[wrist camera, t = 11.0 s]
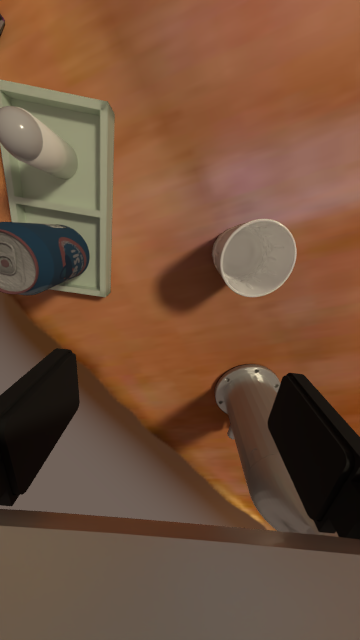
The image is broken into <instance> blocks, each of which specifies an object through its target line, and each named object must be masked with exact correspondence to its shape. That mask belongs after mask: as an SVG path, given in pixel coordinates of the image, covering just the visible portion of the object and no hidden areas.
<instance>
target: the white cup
mask: <svg viewBox="0 0 360 640" xmlns="http://www.w3.org/2000/svg"><path fill="white" fill-rule="evenodd" d="M212 258H213V261H214V265H215V267H216V269H217V271H218V272H219V274H220V276H221V277H222V278H223V280H224V281H225V283H226V284H227V286H228V287H229V288H230V289H231V290H233V291H234V292H236V293H237V294H239V295H242V296H246V297H259V296H264V295H267V294H269V293H271V292H273V291H275V290H276V289H277V288H279V287H280V286H281V285H282V284H283V283H284V282H285V281H286V280H287V278H288V277H289V275H290V274H291V272H292V270H293V267H294V264H295V260H296V244H295V241H294V238H293V236H292V234H291V233H290V231H289V230H288V229H287V228H286V227H285V226H284V225H282V224H281V223H279V222H277V221H274V220H270V219H257V220H253V221H250V222H246V223H243V224H239V225H237V226H234V227H232V228H229V229H227V230H226V231H224V232H223V233H221V234H220V235H219V236H218V238H217V239H216V241H215V243H214V244H213V250H212Z"/></svg>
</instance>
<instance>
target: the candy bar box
mask: <svg viewBox="0 0 360 640" xmlns="http://www.w3.org/2000/svg"><path fill="white" fill-rule="evenodd" d="M4 24H5V20H4V18H3V17H2V16H1V14H0V34H1V32H2V29H3V26H4Z"/></svg>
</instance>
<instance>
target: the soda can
mask: <svg viewBox="0 0 360 640" xmlns="http://www.w3.org/2000/svg"><path fill="white" fill-rule="evenodd" d="M89 260H90V254H89V249H88V246H87V244H86V242H85V240H84V239H83V237H82V236H81V235H80V234H79V233H78V232H77V231H75V230H74V229H72V228H70V227H68V226H65V225H58V224H38V223H19V222H0V292H3V293H7V294H21V295H34V294H38V293H40V292H43V291H45V290H47V289H50V288H52V287H54V286H56V285H59V284H61V283H63V282H65V281H68V280H70V279H72V278H74V277H77V276H79V275H81V274H82V273H83V272H84V271H85V270H86V268H87V267H88V264H89Z"/></svg>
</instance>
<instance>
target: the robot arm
mask: <svg viewBox="0 0 360 640" xmlns="http://www.w3.org/2000/svg"><path fill="white" fill-rule="evenodd" d="M215 398H216V402H217V404H218V406H219V407H220V409H221V410H222V411H224V412H225V413H227V414H228V416H229V420H230V424H231V425H230V427H229V430H228V433H227V434H228V436H229V438H231V439H235V442H236V446H237V449H238V453H239V457H240V460H241V464H242V468H243V472H244V475H245V479H246V483H247V486H248V489H249V493H250V496H251V499H252V501H253V503H254V505H255V507H256V508H257V510H258V511H259V513H260V514H261V515H262V516H263V517H264V519H265V520H266V521H267V522H268V523H269V524H270V525H271V526H272V527H274V528H275V529H276V530H277V531H270V530H259V529H248V528H237V527H225V526H214V525H202V524H190V523H178V522H166V521H154V520H143V519H129V518H118V517H105V516H91V515H79V514H67V513H54V512H41V511H25V510H7V509H0V640H360V437H359V436H358V435H357V434H356V433H355V431H354V430H353V429H352V428H351V427H350V426H349V425H348V424H347V423H346V421H345V420H344V419H343V418H342V417H341V416H340V415H339V414H338V413H337V411H336V410H335V409H334V408H333V407H332V406H331V405H330V404H329V402H328V401H327V400H326V399H325V398H324V397H323V396H322V395H321V394H320V392H319V391H318V390H317V389H316V388H315V387H314V386H313V385H312V383H311V382H310V381H309V380H308V379H307V378H306V377H305V376H304V375H303V374H296V373H288V374H287V375H286V376H284V377H283V378H282V381H281V384H280V382H279V380H278V378H277V376H276V375H275V374H274V373H273V372H272V371H271V370H270V369H268V368H266V367H264V366H261V365H255V364H248V365H241V366H238V367H235V368H233V369H231V370H229V371H228V372H226V373H225V374H224V375H223V376H222V377H221V378H220V379H219V381H218V382H217V385H216V387H215ZM78 407H79V390H78V377H77V364H76V355H75V354H74V353H72V351H71V350H68V349H58V348H57V349H55V350H53V351H52V352H51V353H50V354H49V355H48V356H46V357H45V358H44V359H43V360H42V361H40V362H39V363H38V364H37V365H36V366H35V367H33V368H32V369H31V370H30V371H29V372H27V374H25V375H24V376H23V377H22V378H20V379H19V380H18V381H17V382H16V383H14V384H13V385H12V386H11V387H10V388H9V389H7V390H6V391H5V392H4V393H3V394H1V395H0V505H5V506H12V505H13V504H14V502H15V501H16V499H17V498H18V496H19V495H20V494H24V493H25V492H26V490H27V489H28V487H29V486H30V485H31V483H32V481H33V480H34V478H35V477H36V475H37V473H38V472H39V470H40V469H41V467H42V465H43V464H44V462H45V461H46V459H47V457H48V456H49V454H50V453H51V451H52V449H53V448H54V446H55V444H56V443H57V441H58V440H59V438H60V437H61V435H62V433H63V432H64V430H65V429H66V427H67V425H68V424H69V422H70V421H71V419H72V417H73V416H74V414H75V413H76V411H77V409H78Z"/></svg>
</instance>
